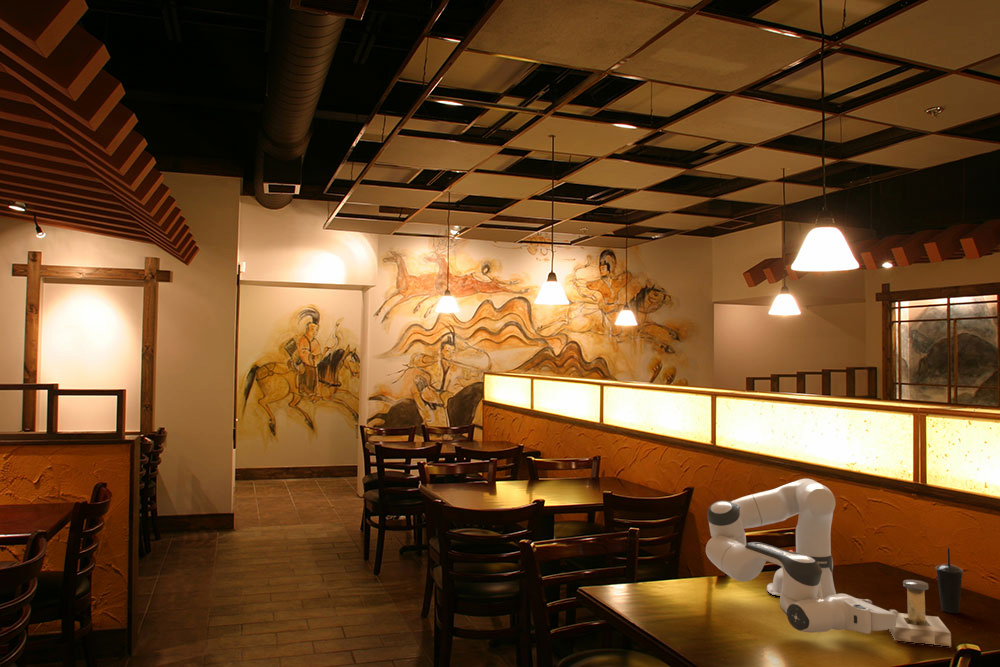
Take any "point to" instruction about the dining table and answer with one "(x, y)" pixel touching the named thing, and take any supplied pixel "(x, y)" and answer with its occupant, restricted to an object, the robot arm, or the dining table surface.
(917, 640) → the block
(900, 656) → the dining table surface
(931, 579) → the dining table surface
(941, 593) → the drinking cup
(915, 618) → the beige jar with lid
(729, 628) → the dining table surface
